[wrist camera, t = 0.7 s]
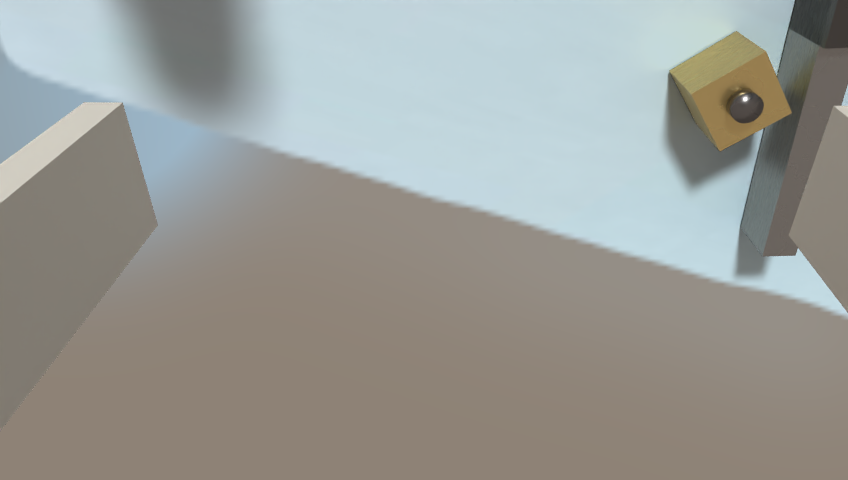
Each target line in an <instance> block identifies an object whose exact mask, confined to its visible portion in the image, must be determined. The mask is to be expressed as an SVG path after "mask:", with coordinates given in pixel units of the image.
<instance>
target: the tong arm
mask: <svg viewBox="0 0 848 480" xmlns="http://www.w3.org/2000/svg"><path fill="white" fill-rule="evenodd" d="M777 79H778V81H779V83H780V86H781V88H782V90H783V93H784V95H785V97H786V100H787V102H788V105H789V107H790V109H791V112H792V113H791V114H789V115H787V116H786V117H784V118H782V119H780V120H778V121H776V122H774V123H772V124H771V125H769V126H767V127H765V129H764V134H763V138H762V142H761V146H760V150H759V154H758V158H757V162H756V166H755V170H754V175H753V179H752V183H751V187H750V191H749V195H748V199H747V203H746V207H745V211H744V216H743V220H742V224H741V228H742V230H743V231H744V232H745V234H746V235H747V236H748V238H749V239H750V240H751V242H752V243H753V244H754V246H755V247H756V249H757V250H758V251H759V253H760V254H761V255H762V256H794V255H796V252H797V249H798V247H797V246H796V244H795V243H794V242H793V240H792V239H791V238H790V236H789V233H790V230H791V227H792V224H793V221H794V218H795V215H796V212H797V210H798V207H799V204H800V201H801V198H802V195H803V192H804V189H805V186H806V184H807V181H808V178H809V175H810V172H811V169H812V166H813V163H814V161H815V158H816V155H817V152H818V149H819V146H820V143H821V140H822V137H823V135H824V132H825V129H826V126H827V123H828V120H829V117H830V114H831V111H832V109H833V106H841V104H842V101H843V98H844V95H845V91H846V88H847V85H848V0H796V2H795V6H794V11H793V15H792V19H791V23H790V27H789V31H788V35H787V39H786V43H785V47H784V52H783V56H782V60H781V64H780V68H779V72H778V76H777Z"/></svg>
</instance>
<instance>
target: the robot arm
mask: <svg viewBox="0 0 848 480" xmlns="http://www.w3.org/2000/svg"><path fill="white" fill-rule="evenodd" d="M157 226H158V224H157V220H156V217H155V213H154V210H153V206H152V203H151V199H150V196H149V192H148V189H147V186H146V182H145V179H144V175H143V172H142V168H141V165H140V161H139V158H138V154H137V151H136V147H135V144H134V140H133V137H132V133H131V130H130V127H129V123H128V120H127V116H126V113H125V109H124V106H123V103H85V102H84V103H83V104H81V105H80V106H79V107H77V108H76V109H74V110H73V111H72V112H71V113H69V114H68V115H66V116H65V117H64V118H62V119H61V120H60V121H58V122H57V123H56V124H54V125H53V126H52V127H50V128H49V129H48V130H46V131H45V132H44V133H42V134H41V135H39V136H38V137H37V138H35V139H34V140H33V141H32V142H30V143H29V144H27V145H26V146H24V147H23V148H22V149H20V150H19V151H18V152H16V153H15V154H14V155H12V156H11V157H10V158H8V159H7V160H5V161H4V162H3V163H1V164H0V431H1V430H2V428H3V427H4V425H5V424H6V423H7V422H8V420H9V419H10V418H11V416H12V415H13V414H14V412H15V411H16V410H17V408H18V407H19V406H20V405H21V403H22V402H23V401H24V399H25V398H26V397H27V395H28V394H29V393H30V392H31V390H32V389H33V388H34V386H35V385H36V384H37V382H38V381H39V380H40V379H41V377H42V376H43V375H44V373H45V372H46V371H47V369H48V368H49V367H50V365H51V364H52V363H53V362H54V360H55V359H56V358H57V356H58V355H59V354H60V352H61V351H62V350H63V348H64V347H65V346H66V345H67V343H68V342H69V341H70V339H71V338H72V337H73V335H74V334H75V333H76V331H77V330H78V329H79V327H80V326H81V325H82V323H83V322H84V321H85V320H86V318H87V317H88V316H89V314H90V313H91V312H92V311H93V309H94V308H95V307H96V305H97V304H98V303H99V301H100V300H101V299H102V297H103V296H104V295H105V293H106V292H107V291H108V289H109V288H110V287H111V286H112V284H113V283H114V282H115V281H116V279H117V278H118V277H119V275H120V273H122V271H123V270H124V269H125V267H126V266H127V265H128V263H129V262H130V261H131V260H132V258H133V257H134V256H135V254H136V253H137V252H138V250H139V249H140V248H141V246H142V245H143V244H144V243H145V241H146V240H147V239H148V237H149V236H150V235H151V233H152V232H153V231H154V230H155V228H156V227H157ZM789 236H790V238H791V239H792V240H793V242H794V243H795V244H796V246H797V247H798V248H799V249H800V251H801V252H802V253H803V255H804V256H805V257H806V259H807V260H808V261H809V263H810V264H811V265H812V267H813V268H814V269H815V270H816V272H817V273H818V274H819V276H820V277H821V278H822V280H823V281H824V282H825V284H826V285H827V286H828V287H829V289H830V290H831V291H832V293H833V294H834V295H835V297H836V298H837V299H838V301H839V302H840V303H841V304H842V306H843V307H844V308H845V310H846V311H847V312H848V106H833V109H832V111H831V114H830V117H829V120H828V123H827V126H826V129H825V132H824V135H823V137H822V140H821V143H820V146H819V149H818V152H817V155H816V158H815V161H814V163H813V166H812V169H811V172H810V175H809V178H808V181H807V184H806V186H805V189H804V192H803V195H802V198H801V201H800V204H799V207H798V210H797V212H796V215H795V218H794V221H793V224H792V227H791V230H790V233H789Z"/></svg>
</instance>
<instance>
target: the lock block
mask: <svg viewBox="0 0 848 480" xmlns="http://www.w3.org/2000/svg"><path fill="white" fill-rule="evenodd" d="M670 73H671V75H672V77H673V79H674V81H675V83H676V85H677V87H678V89H679V91H680V93H681V95H682V97H683V99H684V101H685V103H686V105H687V107H688V109H689V111H690V113H691V115H692V116H693V118H694V120H695V122H696V124H697V125H698V127H699V128H700V129H701V130H702V131H703V132H704V134H705V135H706V136H707V137H708V138H709V139H710V141H711V142H712V143H713V144H714V145H715V146H716V148H717V149H718V150H719V151H722V150H724V149H725V148H727V147H729V146H731V145H733V144H735V143H737V142H739V141H740V140H742V139H744V138H746V137H748V136H750V135H752V134H754V133H755V132H757V131H759V130H761V129H763V128H765V127H767V126H769V125H771V124H772V123H774V122H776V121H778V120H780V119H782V118H784V117H786V116H787V115H789V114H791V113H792V112H791V109H790V107H789V105H788V102H787V100H786V97H785V95H784V93H783V90H782V88H781V86H780V83H779V81H778V79H777V76H776V74H775V71H774V69H773V67H772V64H771V62H770V60H769V57H768V55H767V53H766V51H765V50H763V49H762V48H760V47H759V46H757V45H756V44H754V43H753V42H752V41H750V40H749V39H747V38H746V37H744V36H743V35H741V34H740V33H738V32H737V31H736V32H734V33H732V34H731V35H729V36H727V37H726V38H724V39H722V40H720V41H719V42H717V43H715V44H714V45H712V46H710V47H709V48H707V49H705V50H704V51H702V52H700V53H698V54H697V55H695V56H693V57H692V58H690V59H688V60H687V61H685V62H683V63H682V64H680V65H678V66H676V67H675V68H673V69H671V70H670Z"/></svg>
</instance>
